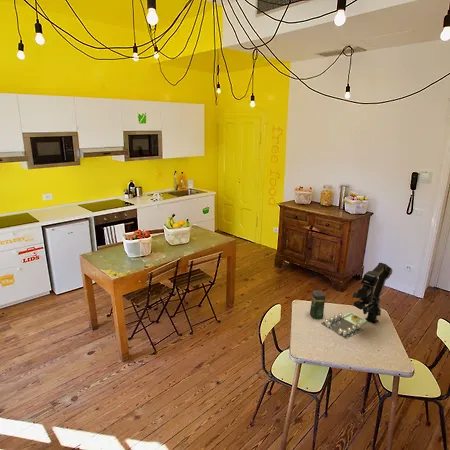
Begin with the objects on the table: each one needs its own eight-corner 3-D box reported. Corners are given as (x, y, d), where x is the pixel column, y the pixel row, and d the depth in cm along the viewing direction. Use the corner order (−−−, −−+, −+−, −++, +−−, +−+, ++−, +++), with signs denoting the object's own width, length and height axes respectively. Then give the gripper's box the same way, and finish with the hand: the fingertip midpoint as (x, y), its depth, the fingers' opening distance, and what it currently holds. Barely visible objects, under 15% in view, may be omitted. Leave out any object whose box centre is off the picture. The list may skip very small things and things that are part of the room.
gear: (354, 316, 233) (354, 313, 232) (361, 320, 228) (361, 317, 228) (348, 319, 230) (349, 316, 229) (355, 323, 225) (356, 320, 225)
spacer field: (337, 316, 234) (338, 310, 233) (363, 330, 219) (364, 325, 218) (320, 324, 224) (321, 318, 223) (345, 340, 209) (346, 334, 208)
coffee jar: (324, 319, 230) (327, 295, 224) (313, 320, 228) (316, 296, 223) (318, 312, 239) (321, 288, 233) (308, 312, 238) (310, 289, 232)
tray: (350, 315, 236) (351, 312, 235) (366, 323, 227) (366, 320, 226) (342, 318, 231) (343, 315, 231) (358, 327, 222) (358, 324, 221)
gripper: (367, 283, 222) (363, 304, 227) (347, 290, 213) (344, 311, 218) (382, 290, 213) (378, 312, 218) (362, 297, 204) (359, 320, 209)
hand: (364, 313), depth 216 cm, fingers closed
